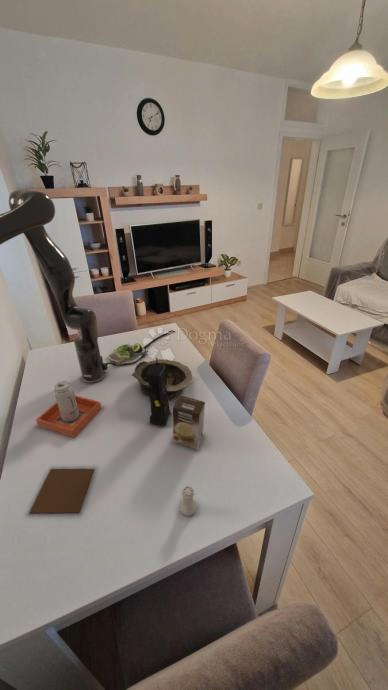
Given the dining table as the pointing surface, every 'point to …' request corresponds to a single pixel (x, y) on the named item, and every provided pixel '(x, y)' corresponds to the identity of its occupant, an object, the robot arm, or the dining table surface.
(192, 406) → the coffee box
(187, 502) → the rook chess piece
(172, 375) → the stone bowl
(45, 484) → the coaster
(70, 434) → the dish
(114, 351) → the salad plate
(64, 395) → the energy drink can
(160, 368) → the portable radio
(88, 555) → the dining table surface
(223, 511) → the dining table surface
